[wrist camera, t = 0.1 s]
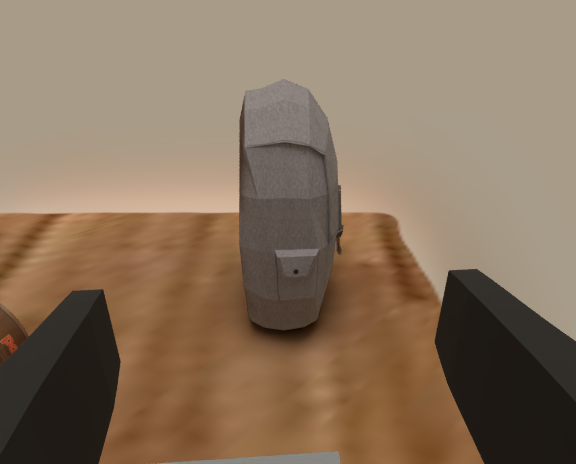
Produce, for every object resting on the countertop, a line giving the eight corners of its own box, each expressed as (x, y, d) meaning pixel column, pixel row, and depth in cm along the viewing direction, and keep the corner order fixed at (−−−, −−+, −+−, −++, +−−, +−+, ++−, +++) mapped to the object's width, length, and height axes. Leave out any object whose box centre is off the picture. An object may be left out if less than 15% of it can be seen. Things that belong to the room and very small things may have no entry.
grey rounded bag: (250, 257, 55) (243, 60, 46) (330, 256, 55) (339, 60, 46) (242, 355, 42) (229, 105, 33) (346, 353, 42) (364, 105, 33)
